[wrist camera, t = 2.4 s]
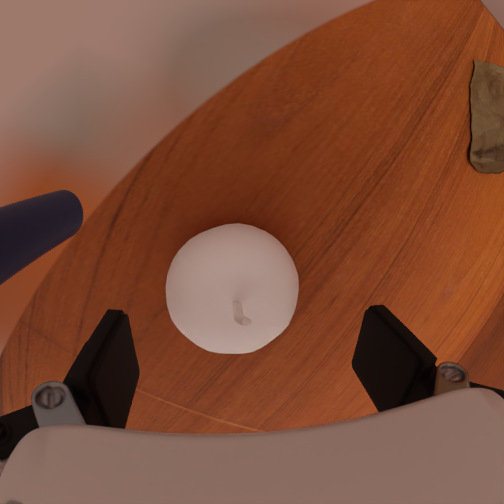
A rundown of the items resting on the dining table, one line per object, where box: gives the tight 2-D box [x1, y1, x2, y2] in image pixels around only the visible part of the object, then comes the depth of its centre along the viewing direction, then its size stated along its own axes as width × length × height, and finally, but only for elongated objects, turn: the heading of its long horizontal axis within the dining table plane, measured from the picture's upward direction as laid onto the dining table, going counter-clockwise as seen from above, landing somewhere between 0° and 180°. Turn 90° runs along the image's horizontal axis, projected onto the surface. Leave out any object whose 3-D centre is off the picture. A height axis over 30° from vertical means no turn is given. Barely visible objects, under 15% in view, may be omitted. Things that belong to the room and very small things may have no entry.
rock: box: [470, 60, 504, 174], centre depth 14 cm, size 11×9×10 cm
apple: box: [166, 223, 299, 354], centre depth 15 cm, size 7×7×8 cm
